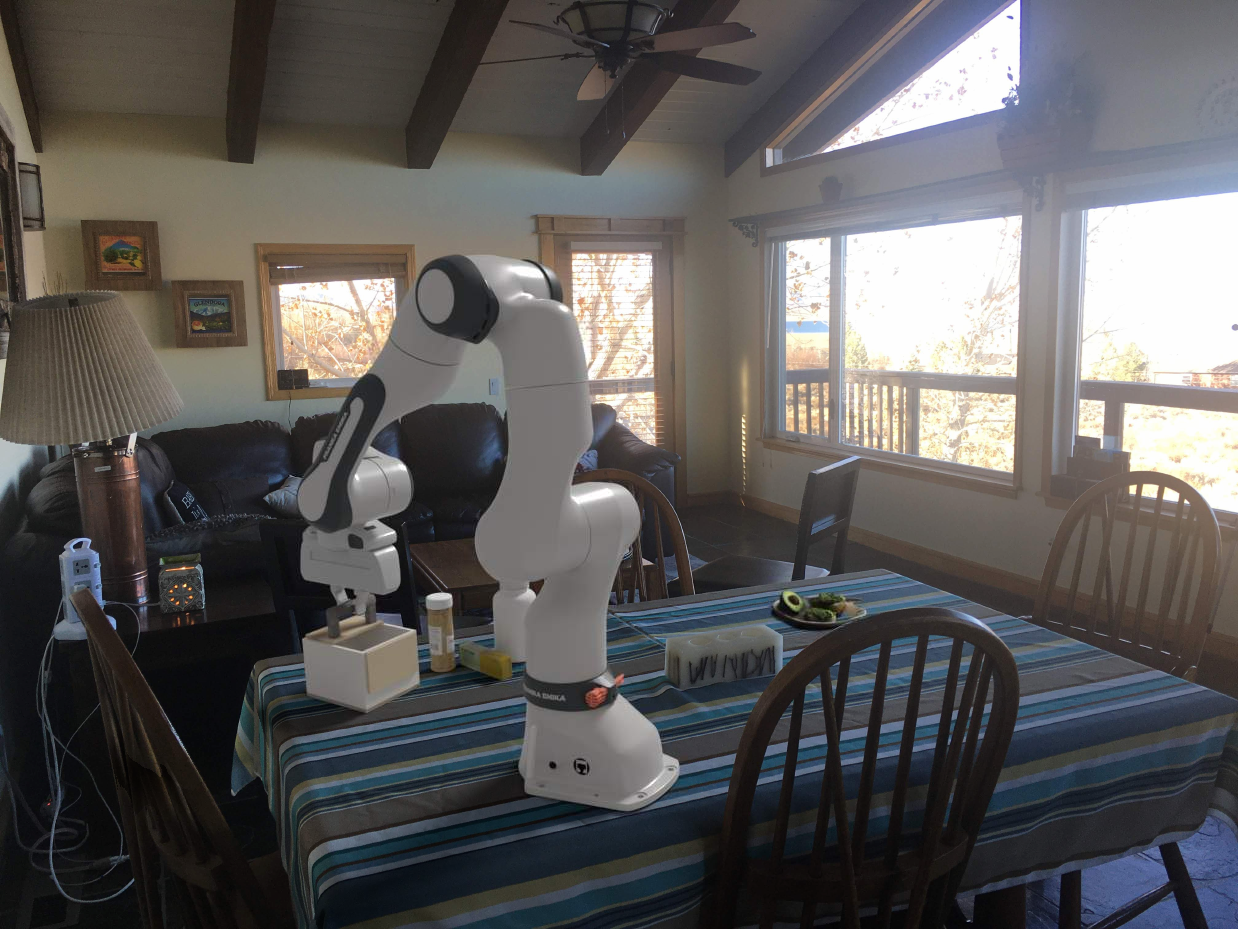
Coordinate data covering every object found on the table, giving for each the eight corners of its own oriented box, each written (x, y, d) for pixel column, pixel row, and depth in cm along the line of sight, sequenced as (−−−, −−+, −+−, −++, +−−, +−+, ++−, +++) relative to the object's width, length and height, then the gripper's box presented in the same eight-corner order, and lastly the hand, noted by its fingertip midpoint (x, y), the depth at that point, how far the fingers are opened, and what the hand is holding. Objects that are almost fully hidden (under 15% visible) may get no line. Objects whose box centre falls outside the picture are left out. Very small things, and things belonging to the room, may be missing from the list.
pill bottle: (546, 657, 169) (543, 577, 166) (507, 667, 164) (503, 586, 162) (525, 644, 175) (522, 568, 173) (487, 654, 171) (483, 576, 168)
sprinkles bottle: (460, 669, 164) (456, 596, 162) (436, 675, 162) (431, 601, 159) (450, 661, 168) (445, 590, 166) (426, 667, 165) (421, 595, 163)
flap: (383, 623, 159) (381, 593, 158) (333, 644, 150) (330, 611, 149) (356, 617, 162) (354, 587, 161) (305, 637, 153) (303, 605, 152)
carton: (422, 687, 157) (418, 630, 155) (368, 714, 147) (364, 654, 145) (361, 671, 164) (357, 617, 163) (307, 696, 154) (302, 638, 153)
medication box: (458, 665, 167) (456, 644, 166) (470, 660, 169) (468, 639, 168) (501, 682, 159) (500, 660, 158) (513, 677, 161) (512, 655, 160)
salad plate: (839, 596, 201) (840, 575, 200) (889, 621, 184) (890, 599, 183) (760, 607, 194) (760, 586, 193) (804, 635, 178) (804, 612, 177)
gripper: (287, 528, 155) (294, 608, 157) (374, 542, 144) (380, 627, 146) (317, 520, 160) (324, 597, 162) (403, 533, 149) (409, 615, 152)
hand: (351, 611), depth 154 cm, fingers closed on flap, 2 cm apart
